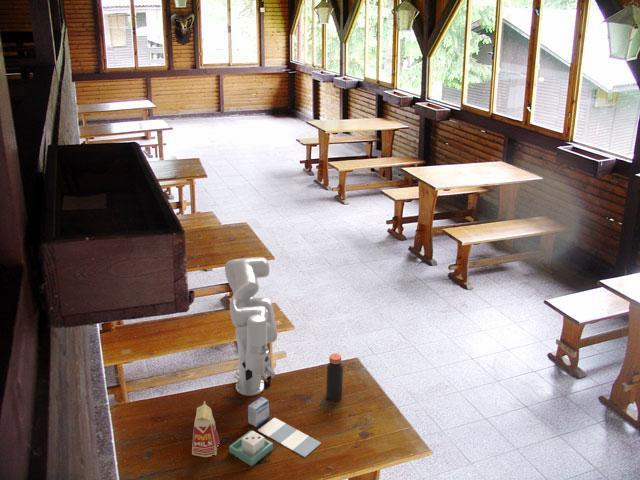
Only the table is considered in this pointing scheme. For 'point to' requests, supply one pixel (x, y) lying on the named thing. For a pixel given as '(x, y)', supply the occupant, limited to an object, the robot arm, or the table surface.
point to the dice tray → (237, 451)
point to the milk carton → (204, 433)
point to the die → (252, 443)
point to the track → (289, 437)
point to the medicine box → (258, 411)
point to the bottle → (334, 378)
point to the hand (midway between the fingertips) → (258, 383)
